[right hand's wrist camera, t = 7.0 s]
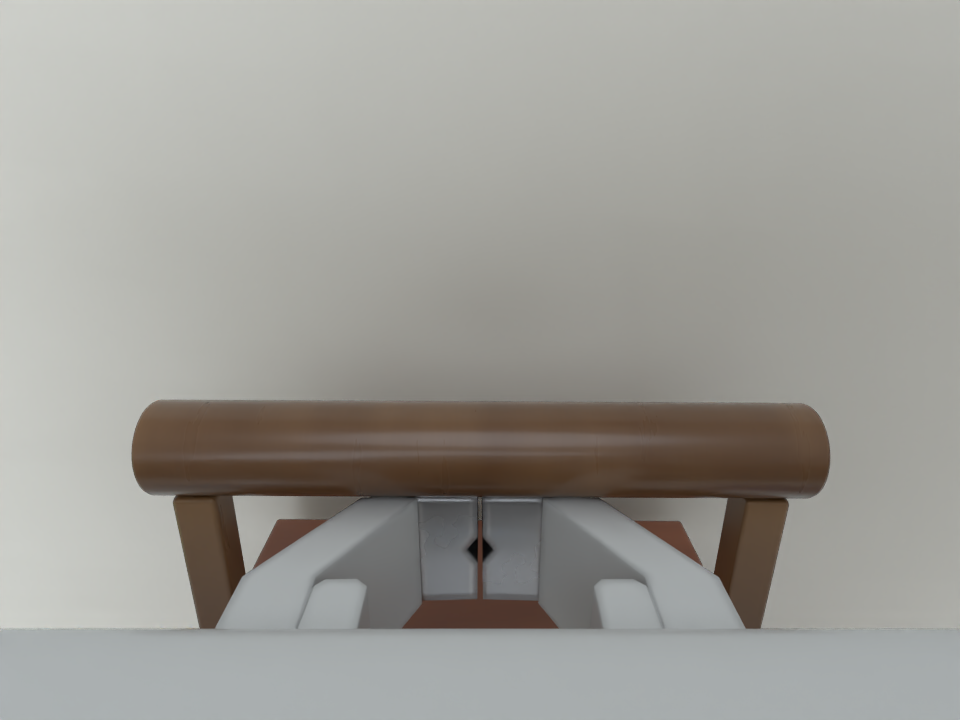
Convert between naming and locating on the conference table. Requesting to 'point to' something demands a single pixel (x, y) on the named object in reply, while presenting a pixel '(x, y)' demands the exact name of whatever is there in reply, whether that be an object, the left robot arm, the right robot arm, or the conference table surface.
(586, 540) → the right robot arm
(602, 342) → the conference table surface
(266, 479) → the drawer
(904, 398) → the conference table surface
